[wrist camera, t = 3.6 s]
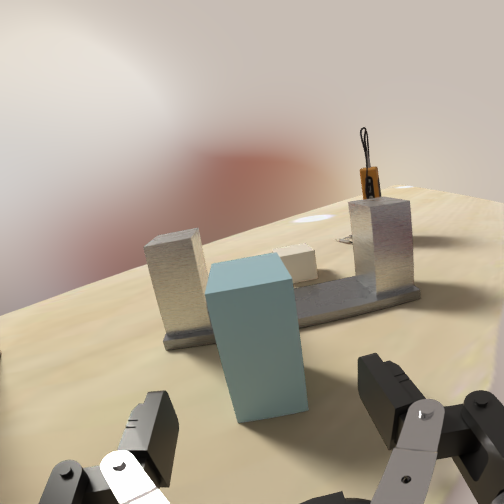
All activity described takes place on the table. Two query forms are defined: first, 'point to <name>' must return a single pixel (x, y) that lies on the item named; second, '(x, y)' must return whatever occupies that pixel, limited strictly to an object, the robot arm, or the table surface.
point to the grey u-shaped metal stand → (307, 298)
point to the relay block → (298, 261)
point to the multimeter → (367, 178)
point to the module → (257, 336)
